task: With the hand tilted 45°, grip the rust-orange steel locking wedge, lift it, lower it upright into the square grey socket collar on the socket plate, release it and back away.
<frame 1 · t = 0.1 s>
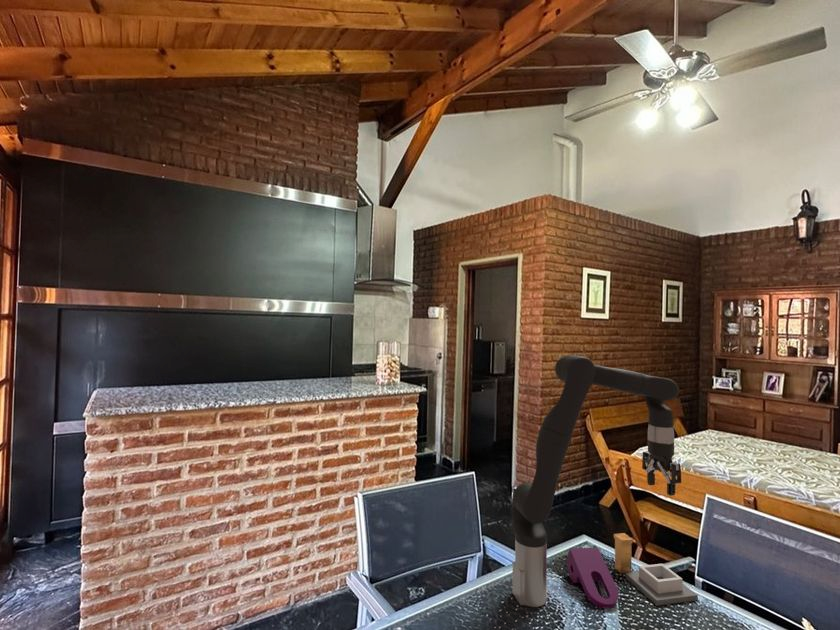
hand: (660, 489, 140), 29 cm above the table, tool pointing down, fingers open, 8 cm apart
locking wedge: (623, 570, 145), on the table
socket plate: (660, 588, 135), on the table
mounting bracket: (593, 591, 134), on the table
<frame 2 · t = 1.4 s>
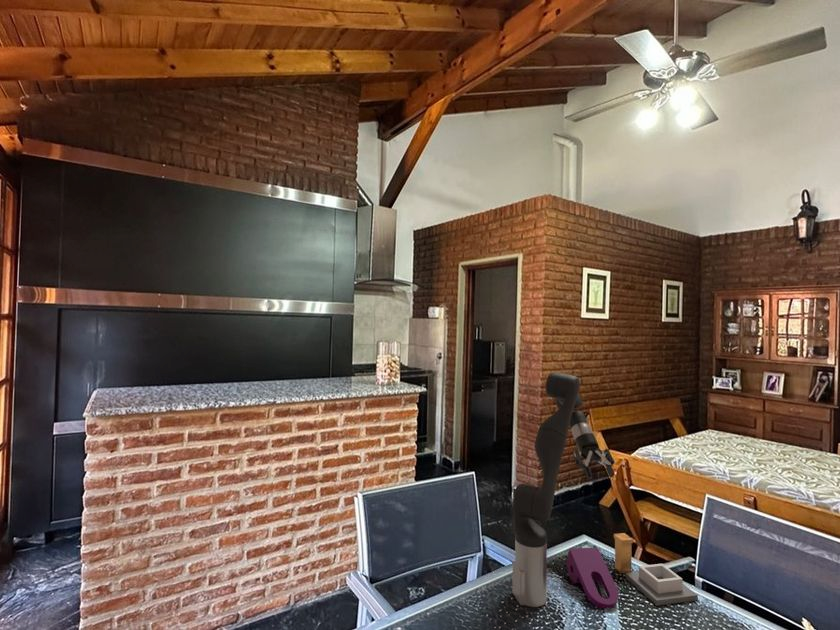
hand: (601, 477, 158), 27 cm above the table, tool tilted 45°, fingers open, 8 cm apart
nothing on the table moved.
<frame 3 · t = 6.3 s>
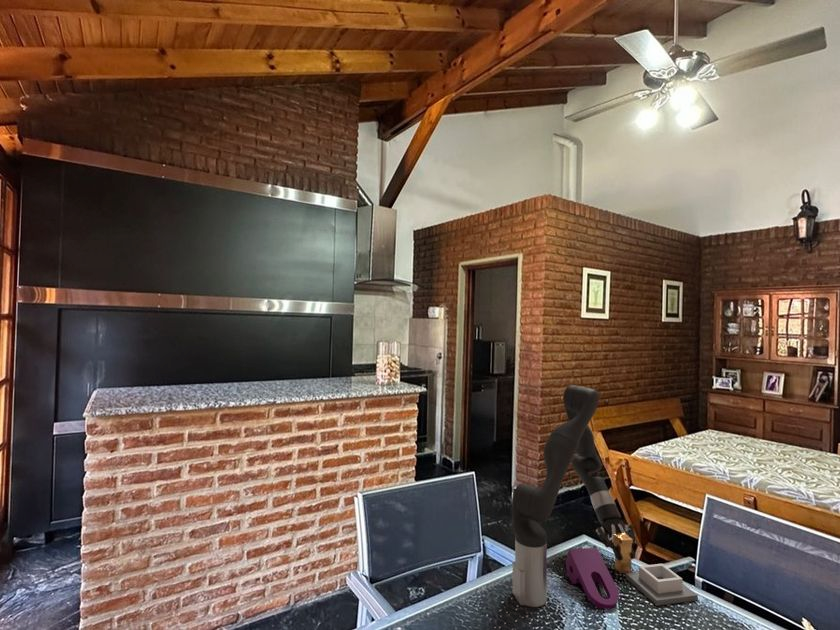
hand: (627, 559, 143), 5 cm above the table, tool tilted 45°, fingers closed on locking wedge, 4 cm apart
locking wedge: (623, 570, 145), on the table, touching gripper
everything else where it was.
when the fingers open (8 cm above the table, at t = 12.4 s): locking wedge drops 1 cm, resting on socket plate.
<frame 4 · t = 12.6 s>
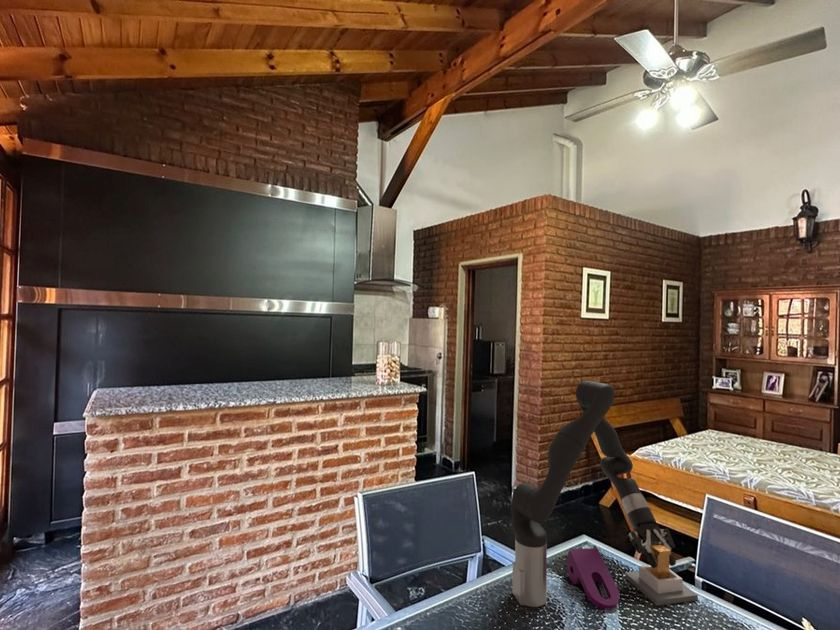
hand: (664, 565, 134), 8 cm above the table, tool tilted 45°, fingers open, 6 cm apart
locking wedge: (660, 583, 135), point 2 cm above the table, touching socket plate
everything else where it was.
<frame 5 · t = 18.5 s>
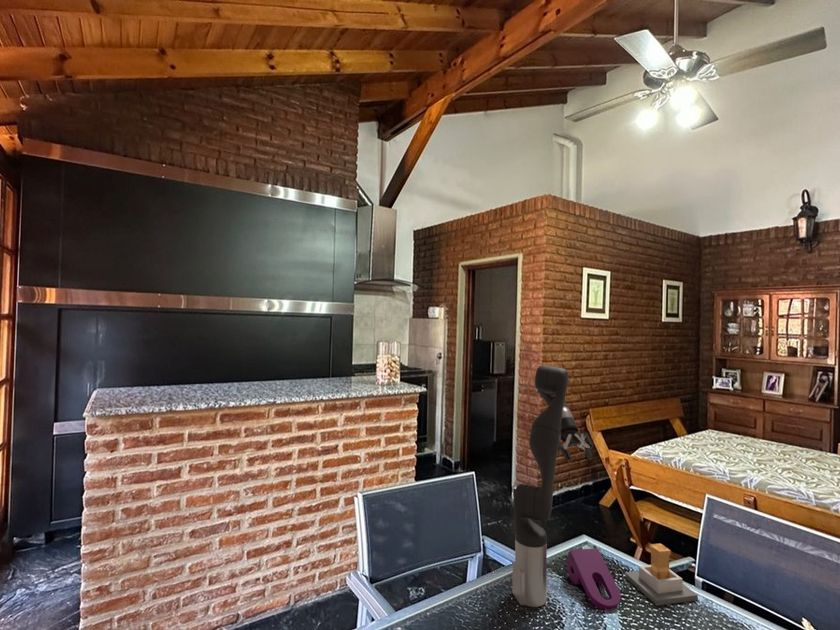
hand: (580, 459, 159), 33 cm above the table, tool tilted 45°, fingers open, 8 cm apart
nothing on the table moved.
at the end: locking wedge 0.1 cm off-centre on the socket plate, point 1.5 cm above the socket plate's base; locking wedge tilted 0°; the gripper is holding nothing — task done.
